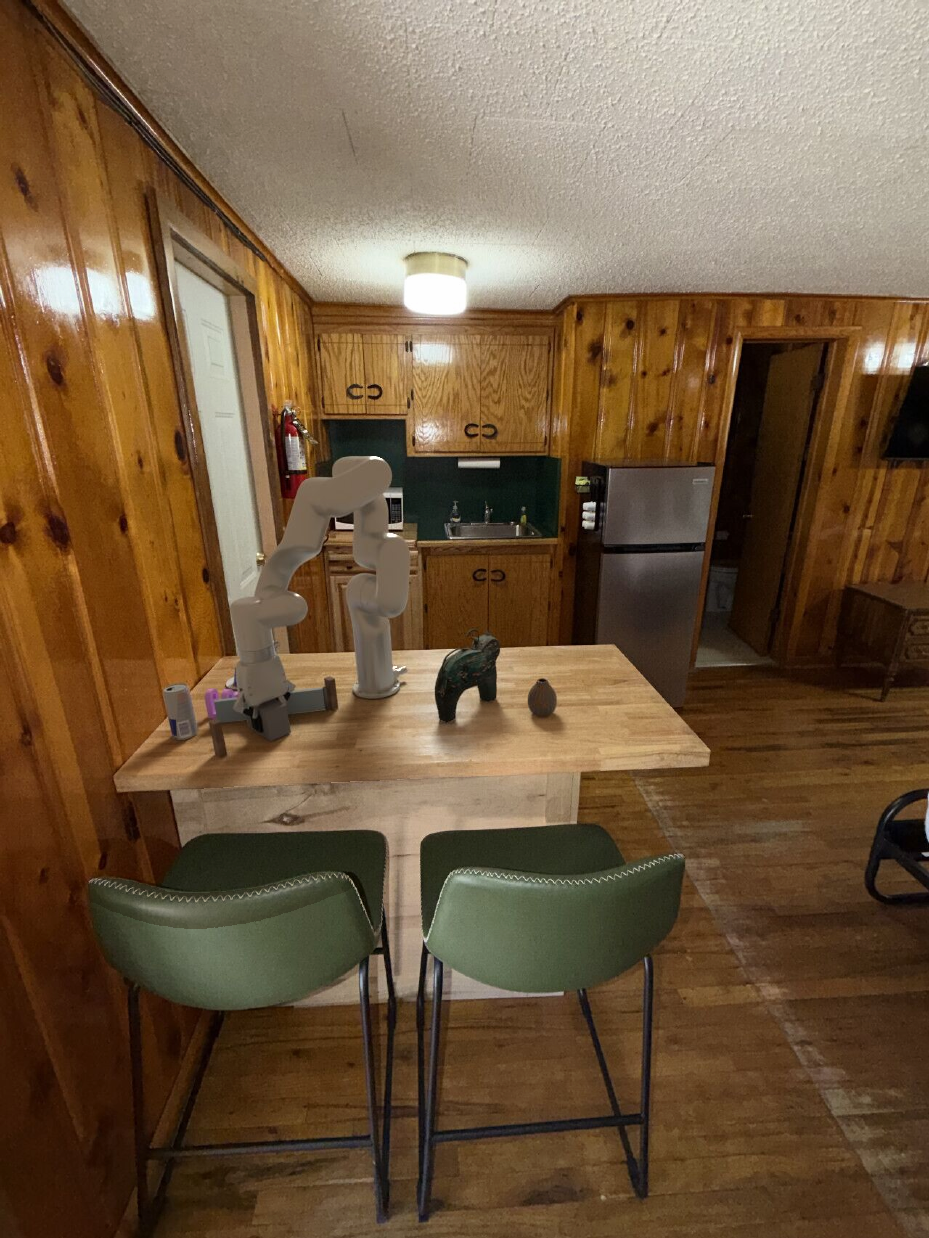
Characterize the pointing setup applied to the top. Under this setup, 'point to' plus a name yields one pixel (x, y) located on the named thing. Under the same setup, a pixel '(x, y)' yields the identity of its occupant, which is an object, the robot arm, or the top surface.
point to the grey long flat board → (295, 704)
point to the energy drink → (180, 711)
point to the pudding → (231, 681)
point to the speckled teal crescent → (467, 674)
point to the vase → (542, 698)
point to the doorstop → (272, 719)
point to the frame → (217, 726)
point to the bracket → (213, 695)
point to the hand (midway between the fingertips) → (270, 724)
